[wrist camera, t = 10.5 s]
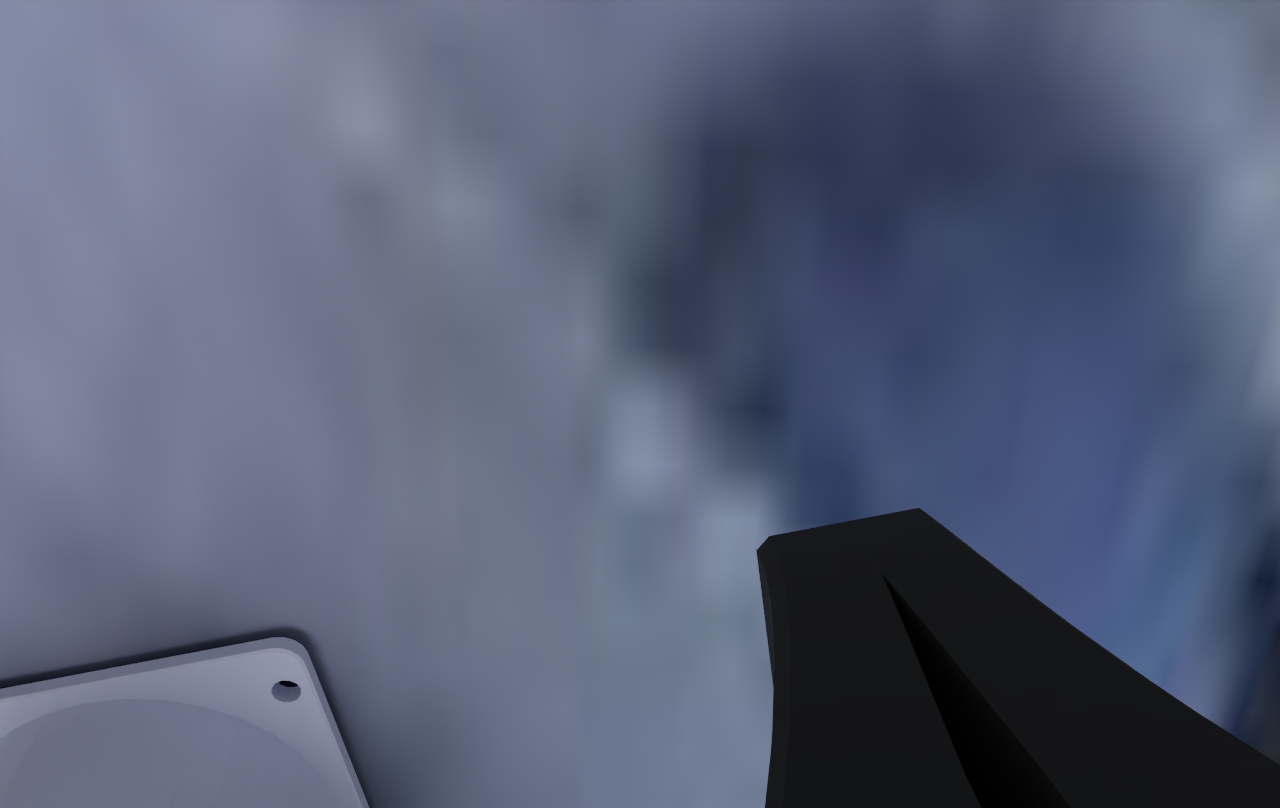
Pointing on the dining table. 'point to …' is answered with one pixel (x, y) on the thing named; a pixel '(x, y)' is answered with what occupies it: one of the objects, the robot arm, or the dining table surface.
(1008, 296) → the dining table surface
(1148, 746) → the robot arm
